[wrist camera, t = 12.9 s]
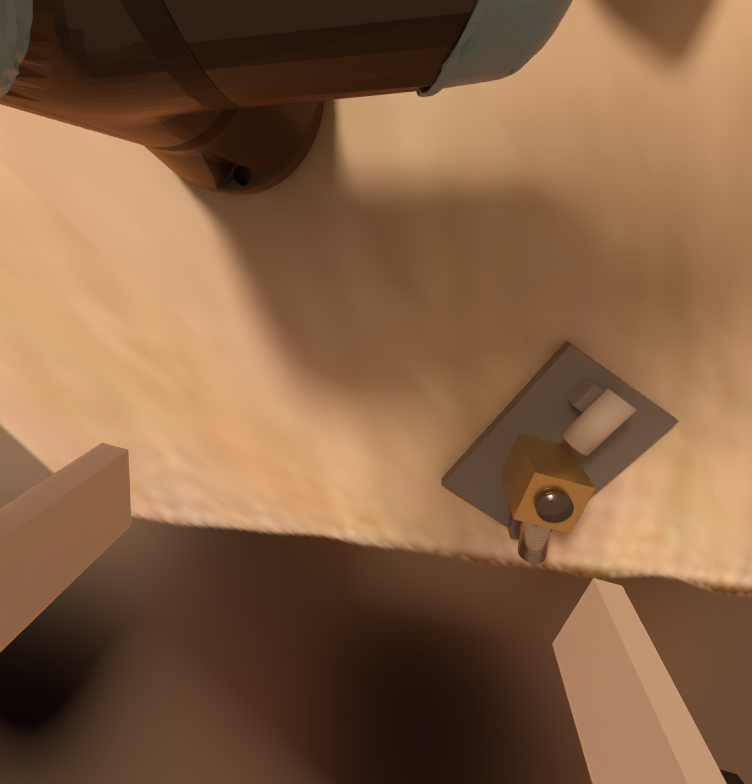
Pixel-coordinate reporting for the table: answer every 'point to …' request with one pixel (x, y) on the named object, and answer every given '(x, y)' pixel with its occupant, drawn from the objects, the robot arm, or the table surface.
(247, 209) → the table surface
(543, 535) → the shaft
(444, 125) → the table surface
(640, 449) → the bolted mounting plate
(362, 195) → the table surface
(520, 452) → the orange rectangular block
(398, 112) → the table surface
